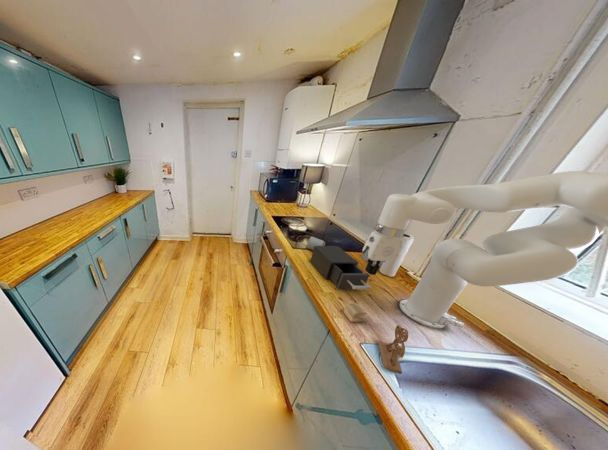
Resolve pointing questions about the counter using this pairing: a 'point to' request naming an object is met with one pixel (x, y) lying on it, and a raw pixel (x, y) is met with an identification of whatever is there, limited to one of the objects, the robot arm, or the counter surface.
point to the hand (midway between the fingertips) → (370, 272)
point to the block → (354, 312)
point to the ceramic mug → (314, 243)
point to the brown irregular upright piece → (394, 350)
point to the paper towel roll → (392, 266)
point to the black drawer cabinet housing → (329, 258)
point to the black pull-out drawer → (348, 277)
